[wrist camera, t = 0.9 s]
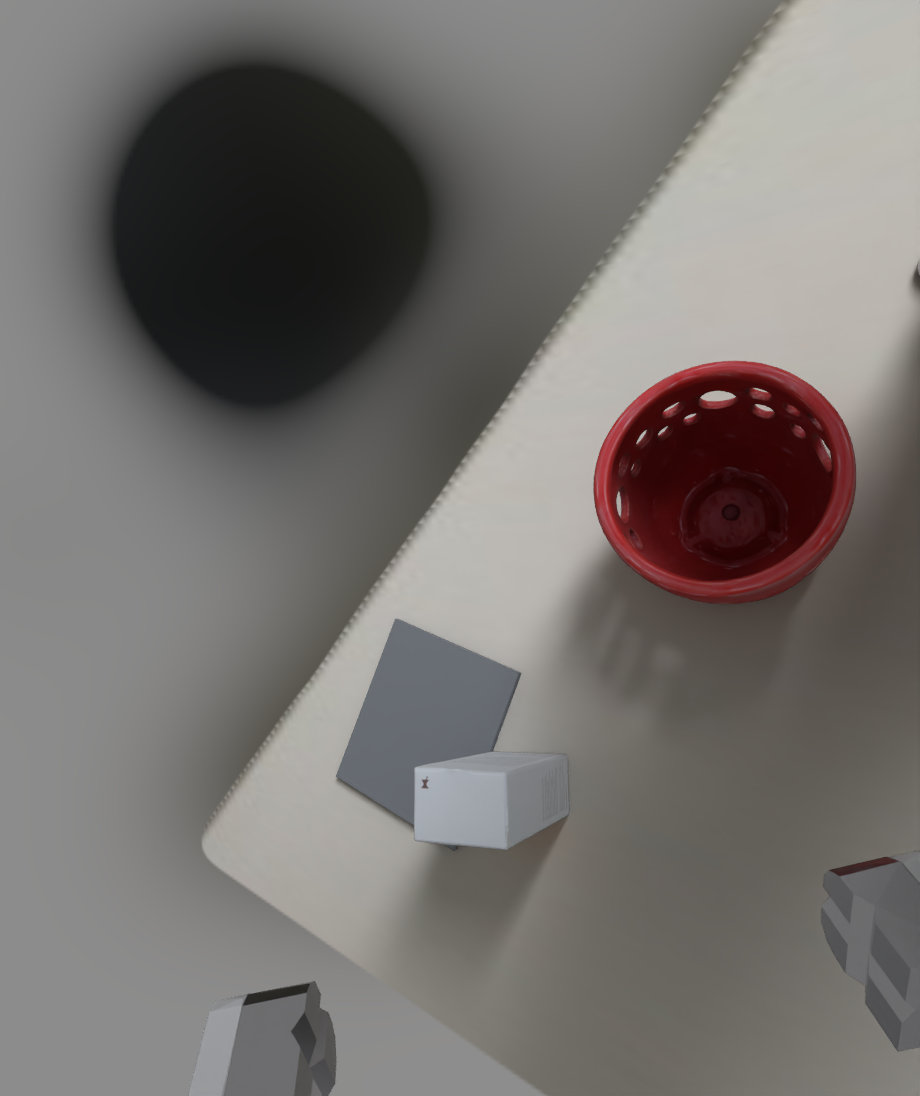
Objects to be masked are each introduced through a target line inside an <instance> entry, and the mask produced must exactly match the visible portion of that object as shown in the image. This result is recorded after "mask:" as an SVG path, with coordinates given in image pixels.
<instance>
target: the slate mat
mask: <svg viewBox="0 0 920 1096" xmlns="http://www.w3.org/2000/svg"><path fill="white" fill-rule="evenodd" d="M520 675H521V673H520V672H518V671H515V670H513V669H511V668H509V667H506V666H504V665H502V664H499V663H497V662H495V661H493V660H490V659H488V658H486V657H483V656H481V655H479V654H477V653H474V652H472V651H470V650H467V649H465V648H463V647H461V646H458V645H456V644H454V643H451V642H449V641H447V640H445V639H442V638H440V637H438V636H435V635H433V634H431V633H429V632H426V631H424V630H422V629H420V628H417V627H415V626H413V625H410V624H408V623H406V622H404V621H401V620H399V619H395V621H394V624H393V626H392V629H391V632H390V634H389V637H388V640H387V642H386V645H385V648H384V650H383V653H382V656H381V658H380V661H379V663H378V666H377V669H376V671H375V674H374V677H373V679H372V682H371V685H370V687H369V690H368V693H367V695H366V698H365V701H364V703H363V706H362V709H361V711H360V714H359V717H358V719H357V722H356V725H355V727H354V730H353V733H352V735H351V738H350V741H349V743H348V746H347V748H346V751H345V754H344V756H343V759H342V762H341V764H340V767H339V770H338V772H337V775H336V777H338V778H339V779H341V780H343V781H344V782H346V783H347V784H349V785H350V786H352V787H354V788H355V789H357V790H358V791H360V792H362V793H363V794H365V795H366V796H368V797H369V798H371V799H373V800H374V801H376V802H377V803H379V804H381V805H382V806H384V807H385V808H387V809H388V810H390V811H392V812H393V813H395V814H396V815H398V816H400V817H401V818H403V819H404V820H406V821H407V822H409V823H411V824H412V825H414V768H415V767H418V766H422V765H426V764H431V763H437V762H443V761H447V760H453V759H458V758H463V757H468V756H472V755H478V754H483V753H488V752H493V749H494V746H495V743H496V741H497V738H498V735H499V732H500V730H501V727H502V724H503V722H504V719H505V716H506V713H507V711H508V708H509V705H510V702H511V700H512V697H513V694H514V691H515V689H516V686H517V683H518V681H519V678H520ZM444 845H445V844H444ZM445 846H447V847H449V848H450V849H452V850H453V851H454V850H456V849H457V847H458V845H445Z"/></svg>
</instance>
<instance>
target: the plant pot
mask: <svg viewBox="0 0 920 1096" xmlns="http://www.w3.org/2000/svg"><path fill="white" fill-rule="evenodd" d="M753 388H758V389H762V390H765V391H767V392H768V393H767V392H761V391H759V390H756V389H753ZM711 391H725V392H729V393H732V394H733V395H735V396H736V397H735V398H733V399H730V400H724V401H706V400H703V399H701V398H700V397H701V396H702V395H704V394H705V393H708V392H711ZM677 402H679V403H678V404H677V405H676V406H674V407H673V408H671V409H669V410H667V411H664V410H665V409H666V408H668V407H670V406H672V405H674V404H675V403H677ZM755 404H760V405H765V406H767V407H769V408H771V409H772V410H773V411H765V410H762V409H760V408H758V407H756V405H755ZM663 411H664V412H663ZM695 413H697V414H696V415H695V416H693V417H691V418H688V419H684V418H685V417H686V416H688V415H690V414H695ZM666 426H668V427H667V429H666V430H665V431H664V432H663V433H661V434H660V435H658V433H659V432H660V431H661V430H662V429H663V428H665V427H666ZM800 427H801V428H802V429H803V430H802V429H801V428H800ZM645 430H647V431H646V434H645V435H644V437H643V438H642V439H641V441H640V442H639V443H637V444H636V442H637V440H638V438H639V437H640V435H641V434H642V433H643V432H644V431H645ZM821 439H822V440H823V441H824V443H825V445H826V446H827V447H828V449H829V450H830V454H831V459H830V457H829V455H828V453H827V452H826V449H825V447H824V445H823V443H822V440H821ZM633 464H634V466H633ZM619 465H620V466H619ZM632 466H633V469H632ZM631 469H632V470H631ZM855 487H856V464H855V456H854V450H853V445H852V442H851V438H850V436H849V433H848V430H847V428H846V426H845V424H844V422H843V420H842V419H841V417H840V416H839V414H838V412H837V411H836V410H835V408H834V407H833V406H832V405H831V404H830V403H829V402H828V400H827V399H826V398H825V397H824V396H823V395H822V394H821V393H819V392H818V391H817V390H816V389H815V388H814V387H812V386H811V385H810V384H808V383H807V382H805V381H803V380H802V379H800V378H798V377H797V376H795V375H793V374H791V373H789V372H787V371H784V370H782V369H779V368H777V367H773V366H770V365H766V364H762V363H756V362H747V361H723V362H713V363H708V364H702V365H699V366H695V367H691V368H689V369H686V370H683V371H680V372H678V373H675V374H673V375H671V376H669V377H667V378H665V379H663V380H662V381H660V382H658V383H657V384H655V385H654V386H652V387H651V388H649V389H648V390H647V391H645V392H644V393H643V394H641V395H640V396H639V397H638V398H637V399H636V400H635V401H634V402H633V403H632V404H631V405H630V406H629V407H628V408H627V409H626V410H625V411H624V412H623V413H622V414H621V416H620V417H619V418H618V419H617V421H616V422H615V424H614V425H613V427H612V428H611V430H610V431H609V433H608V435H607V437H606V439H605V441H604V443H603V445H602V447H601V450H600V453H599V456H598V459H597V463H596V468H595V475H594V501H595V508H596V512H597V516H598V519H599V523H600V525H601V527H602V530H603V532H604V534H605V536H606V538H607V539H608V541H609V543H610V544H611V546H612V547H613V548H614V550H615V551H616V553H617V554H618V555H619V557H620V558H621V559H622V560H623V561H624V562H625V563H626V564H627V565H628V566H629V567H630V568H632V569H633V570H634V571H635V572H636V573H638V574H639V575H640V576H642V577H643V578H645V579H646V580H648V581H649V582H651V583H653V584H654V585H656V586H658V587H660V588H662V589H664V590H666V591H668V592H670V593H673V594H675V595H678V596H681V597H685V598H688V599H691V600H695V601H700V602H705V603H714V604H736V603H746V602H753V601H758V600H762V599H765V598H769V597H771V596H774V595H777V594H779V593H782V592H784V591H785V590H787V589H789V588H791V587H792V586H794V585H795V584H797V583H798V582H800V581H801V580H802V579H803V578H805V577H806V576H807V575H809V574H810V573H811V572H813V571H814V570H815V569H816V568H817V567H818V566H819V565H820V564H821V562H822V561H823V560H824V559H825V558H826V557H827V555H828V554H829V553H830V552H831V550H832V549H833V548H834V546H835V545H836V543H837V542H838V540H839V538H840V536H841V534H842V532H843V530H844V528H845V525H846V523H847V521H848V518H849V515H850V513H851V509H852V505H853V501H854V495H855ZM618 491H619V492H620V497H621V518H620V516H619V515H618V511H617V504H616V499H617V494H618Z"/></svg>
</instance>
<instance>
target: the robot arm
mask: <svg viewBox="0 0 920 1096" xmlns="http://www.w3.org/2000/svg"><path fill="white" fill-rule="evenodd" d="M918 273H919V275H920V261H919V263H918ZM823 887H824V889H825V890H826V891H827V893H828V894H829V896H830V897H829V898H828V899H827V901H826V902H825V903H824V904H823V905H822V915H821V922H822V925H823V929H824V932H825V936H826V939H827V942H828V944H829V946H830V948H831V950H832V952H833V954H834V956H835V957H836V959H837V960H838V962H839V964H840V965H841V967H842V968H843V970H844V971H845V973H847V974H848V975H850V976H851V977H853V978H854V979H856V980H857V981H859V982H860V983H862V984H864V985H865V1003H866V1005H867V1006H868V1008H869V1009H870V1011H871V1012H872V1014H873V1015H874V1017H875V1018H876V1020H877V1021H878V1023H879V1024H880V1026H881V1027H882V1029H883V1030H884V1032H885V1033H886V1035H887V1036H888V1038H889V1039H890V1041H891V1042H892V1044H893V1045H894V1047H895V1048H896V1050H897V1051H902V1050H908V1049H913V1048H918V1047H920V851H914V852H910V853H905V854H901V855H897V856H893V857H883V858H879V859H875V860H870V861H866V862H862V863H857V864H853V865H849V866H845V867H840V868H836V869H832V870H829V871H828V872H827V873H826V874H825V875H824V883H823ZM320 999H321V993H320V991H319V989H318V987H317V984H316V982H315V981H312V982H307V983H302V984H297V985H292V986H287V987H282V988H277V989H272V990H267V991H262V992H257V993H252V994H245V995H240V996H235V997H231V998H226V999H222V1000H217V1001H215V1003H214V1005H213V1006H212V1008H211V1010H210V1012H209V1014H208V1017H207V1021H206V1025H205V1028H204V1032H203V1037H202V1041H201V1044H200V1048H199V1052H198V1056H197V1060H196V1064H195V1068H194V1072H193V1076H192V1080H191V1084H190V1088H189V1092H188V1096H328V1095H329V1093H330V1092H331V1090H332V1088H333V1086H334V1085H335V1078H336V1043H335V1042H336V1041H335V1034H334V1029H333V1024H332V1021H331V1018H330V1015H329V1013H328V1012H327V1011H325V1010H323V1009H321V1008H320Z"/></svg>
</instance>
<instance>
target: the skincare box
mask: <svg viewBox="0 0 920 1096" xmlns="http://www.w3.org/2000/svg"><path fill="white" fill-rule="evenodd" d="M568 815H569V794H568V760H567V755H565V754H542V753H516V752H488V753H483V754H478V755H472V756H468V757H463V758H458V759H453V760H447V761H443V762H437V763H431V764H426V765H422V766H418V767H415V768H414V840H415V841H420V842H428V843H436V844H445V845H458V846H471V847H480V848H491V849H501V850H508V849H509V848H511V847H513V846H515V845H516V844H518V843H520V842H522V841H524V840H525V839H527V838H529V837H531V836H532V835H534V834H536V833H538V832H540V831H541V830H543V829H545V828H547V827H548V826H550V825H552V824H554V823H555V822H557V821H559V820H561V819H563V818H564V817H566V816H568Z"/></svg>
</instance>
